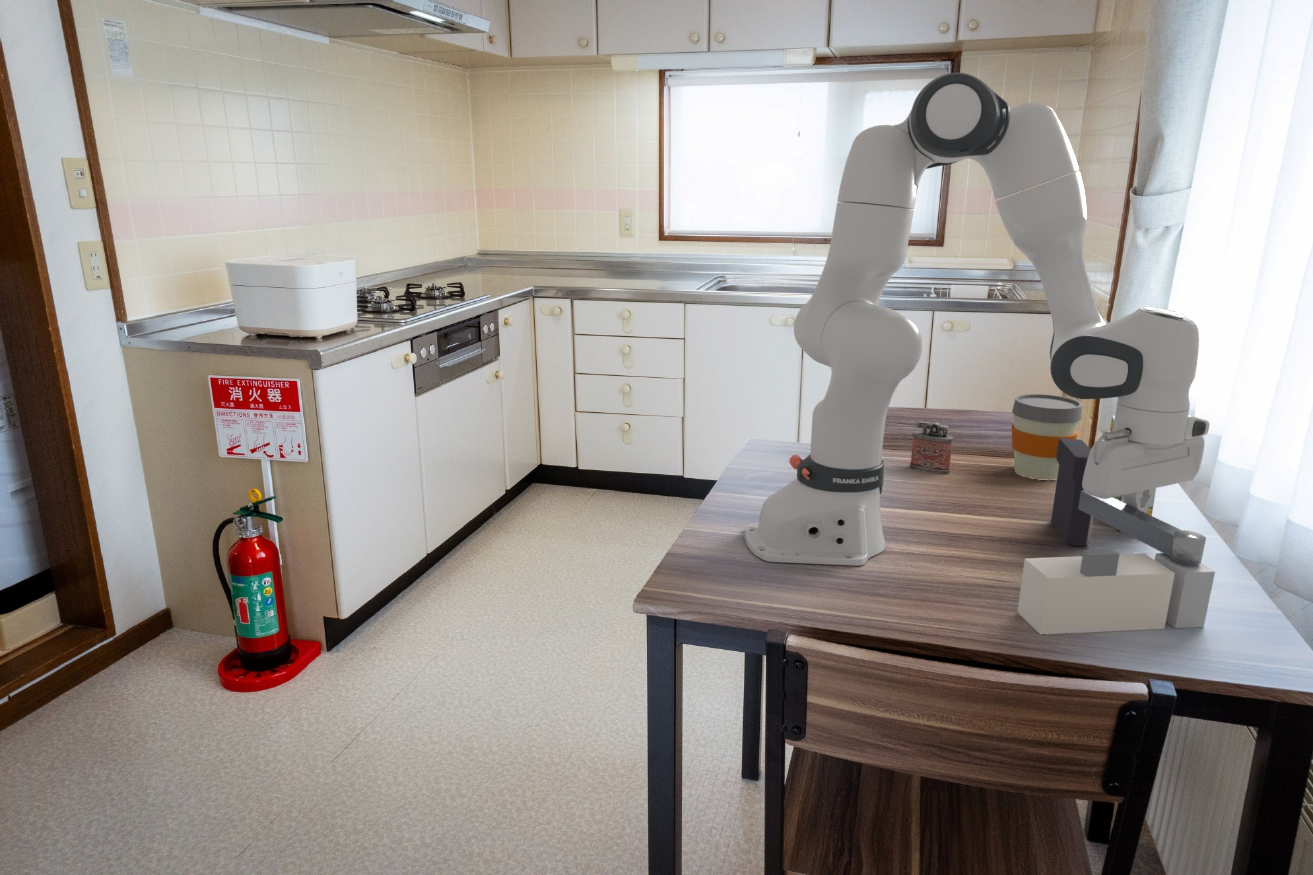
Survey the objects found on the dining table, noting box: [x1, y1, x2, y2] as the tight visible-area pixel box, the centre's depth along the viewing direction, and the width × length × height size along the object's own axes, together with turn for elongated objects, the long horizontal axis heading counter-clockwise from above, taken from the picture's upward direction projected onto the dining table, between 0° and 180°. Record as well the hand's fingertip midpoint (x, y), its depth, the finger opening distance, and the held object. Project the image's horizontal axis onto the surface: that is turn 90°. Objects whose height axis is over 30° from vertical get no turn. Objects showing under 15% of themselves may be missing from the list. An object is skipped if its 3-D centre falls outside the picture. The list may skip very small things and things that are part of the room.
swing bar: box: [1078, 490, 1207, 565], centre depth 121 cm, size 21×4×3 cm, turn 13°
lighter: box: [909, 420, 955, 476], centre depth 173 cm, size 8×3×10 cm, turn 58°
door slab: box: [1017, 549, 1175, 636], centre depth 113 cm, size 17×6×11 cm, turn 95°
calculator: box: [1050, 438, 1094, 547], centre depth 141 cm, size 11×4×15 cm, turn 168°
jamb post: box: [1154, 552, 1216, 629], centre depth 114 cm, size 4×6×8 cm, turn 5°
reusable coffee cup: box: [1011, 393, 1083, 480], centre depth 170 cm, size 13×13×15 cm
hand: (1135, 516), depth 124 cm, fingers closed
